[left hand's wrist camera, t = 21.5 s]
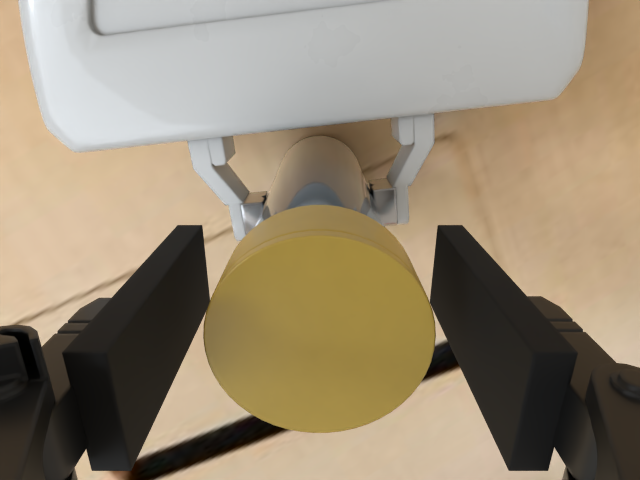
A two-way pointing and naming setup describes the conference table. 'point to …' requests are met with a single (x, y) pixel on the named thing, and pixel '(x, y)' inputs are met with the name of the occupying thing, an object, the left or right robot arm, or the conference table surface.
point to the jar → (319, 179)
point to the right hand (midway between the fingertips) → (322, 228)
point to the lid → (319, 321)
